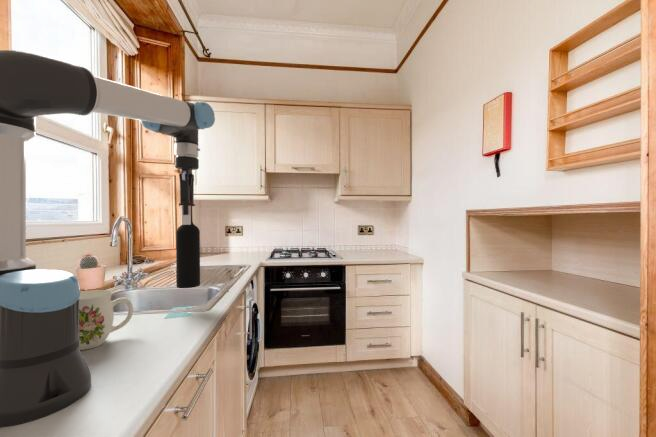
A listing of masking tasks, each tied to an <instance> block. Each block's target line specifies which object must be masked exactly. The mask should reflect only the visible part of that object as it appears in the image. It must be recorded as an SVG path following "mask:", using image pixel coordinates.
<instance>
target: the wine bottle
mask: <svg viewBox="0 0 656 437" xmlns="http://www.w3.org/2000/svg"><path fill="white" fill-rule="evenodd" d="M188 206H191V225H182V224H181V225H180V226H179V227H177V229H176V232H175V240H176V242H175V244H176V245H175V247H176V248H175V250H176V251H175V253H176V254H175V255H176V258H175V259H176V260H175V262H176V263H175V264H176V266H175V268H176V269H175V270H176V271H175V272H176V288H178V289H190V288H192V289H193V288H197V287H199V286H201V246H200V245H201V243H200V242H201V239H200V238H201V233H200V229H199V227H198V226H197V225H196V224H194V220H193V221H192V200H190V205H188Z"/></svg>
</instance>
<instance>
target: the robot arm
mask: <svg viewBox="0 0 656 437" xmlns="http://www.w3.org/2000/svg"><path fill="white" fill-rule="evenodd" d="M92 113H97V114H99V115H100V114H102V115H106V116H107V115H108V116H114V117H119V118H124V119H131V120H136V121H137V120H138V121H140V123H141V125H142V127H144V128H145V129H147V130H149V131H152V132H154V133H158V134H162V135H165V136H169V137H173V138H174V156H175V157H174V167H175V169H177V170H181V172H180V173H178V174H179V193H180V194H179V197H180V198H179V199H180V201H179V202H180V203H178V206H181V225H191V206H188V205H190V200H192V221H193V222H194V217H193V216H194V214H193V212H194V211H193V208H194V207H195V206H196V204H195V203H194V202H195V201H194V195H195V194H194V191H195V190H194V185H195V184H194V183H195V176H194V174H193V170H195V171H197V170H199V162H200V160H199V158H198V157H199V152H200V151H201V148H199V130H205V129H210V128H211V127H213V126H214V125H215V121H216V117H215V111H214V109H213V107H212V106H211V105H210V104H209V103H207V102H205V101H203V102H202V101H200V102H199V101H197V102H189V101H185V100H181V99H178V98H174V97H170V96H168V95H163V94H159V93H156V92H152V91H149V90H146V89H142V88H138V87H135V86H133V85H128V84H124V83H122V82H117V81H114V80H110V79H106V78H104V77H99V76H96V75H95V74H93V72H91V71H90V70H89V69H88V68H86V67H83V66H80V65H77V64H73V63H69V62H66V61H62V60H60V59H56V58H52V57H48V56H44V55H40V54H36V53H31V52H28V51H23V50H22V51H20V50H11V49H10V50H9V49H5V50H4V49H3V50H2V49H0V428H4V427H11V426H15V425H22V424H25V423H29V422H33V421H36V420H39V419H43V418H44V417H47V416H51V415H52V414H55V413H57V412H59V411H62V410H64V409H66V408H68V407H70V406H72V405H73V404H75V403H76V402H78V401H79V400H81V399H82V398H83V397H85V395H86V394H88V392H89V391H90V389H91V387H92V374H91V370H90V369H89V367H88V364H87V363H86V360H85V358H84V356H83V354H82V350H80V348H79V297H80V292H81V291H80V285H79V280H78V278H77V276H76V275H75V274H74V273H72V272H70V271H65V270H60V269H43V268H42V269H39V268H38V269H36V268H37V265H36V262H35V261H33V260H32V259H31V258H29V257H28V256H27V253H26V252H27V251H26V247H27V246H26V242H27V241H26V240H27V237H26V236H27V232H26V230H27V226H26V224H27V219H26V217H27V215H26V214H27V213H26V212H27V211H26V210H27V204H26V203H27V202H26V201H27V200H26V198H27V197H26V196H27V195H26V194H27V188H26V187H27V184H26V183H27V177H26V176H27V175H26V174H27V173H26V172H27V166H26V165H27V163H26V162H27V158H26V156H27V154H26V152H27V150H26V149H27V148H26V147H27V145H26V144H27V142H28V141H30V140H31V139H33V138H35V137H36V132H37V130H36V128H37V126H36V125H37V123H36V122H37V121H36V120H37V117H42V116H48V115H60V114H61V115H62V114H63V115H64V114H65V115H66V114H69V115H77V116H89V115H91V114H92Z"/></svg>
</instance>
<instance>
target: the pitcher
mask: <svg viewBox="0 0 656 437" xmlns="http://www.w3.org/2000/svg"><path fill="white" fill-rule="evenodd" d="M112 295H113V291H112V290H109V289H108V290H107V289H95V290H94V289H93V290H84V291H83V290H82V291H80V297H79V348H80V351H86V350H91V349H95V348H97V347H100V346H102V345H103V344H104V343H105V341H106V340H107V339H108V337H109V335H110V334H111V333H113V332H115V331H118V330H119V329H122V328H124V327H125V326H126V325H127V324H128V323H129V322H130V321H131V319H132V317H133V315H134V314H133V313H134V306H133V303H132V301H131V299H129V298H128V297H124V296H123V297H119V298H116V299H114V300H111V299H112ZM119 303H125V304H126V306H127V309H128V311H127V315H126V316H125V318H124V319H123V320H122V321H120V322H119V323H118V324H115V325H114V319H115V314H114V313H115V312H114V307H115V306H116V305H118V304H119Z"/></svg>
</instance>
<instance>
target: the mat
mask: <svg viewBox="0 0 656 437" xmlns="http://www.w3.org/2000/svg"><path fill="white" fill-rule="evenodd" d="M196 306H197V305H191V306H190V305H189V306H178V307H176V306H175V307H172V309H171V310H176V309H186V308H192V307H196ZM192 316H193V312H192V313H188V312H181V313H173V312H172V313H171V312H170V311H169V312H168V313H167V315H165V317H164V319H173V318H174V319H175V318H185V317H192ZM164 319H163V320H164Z"/></svg>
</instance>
